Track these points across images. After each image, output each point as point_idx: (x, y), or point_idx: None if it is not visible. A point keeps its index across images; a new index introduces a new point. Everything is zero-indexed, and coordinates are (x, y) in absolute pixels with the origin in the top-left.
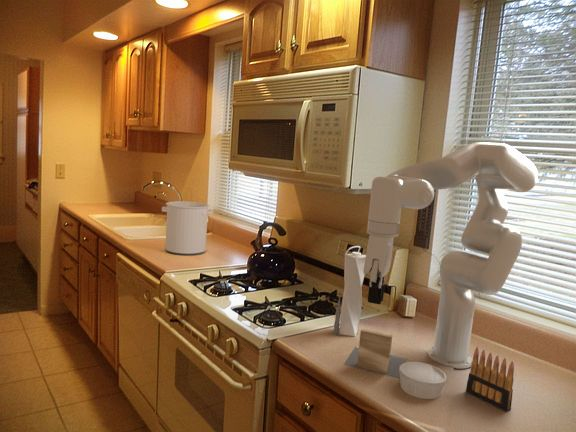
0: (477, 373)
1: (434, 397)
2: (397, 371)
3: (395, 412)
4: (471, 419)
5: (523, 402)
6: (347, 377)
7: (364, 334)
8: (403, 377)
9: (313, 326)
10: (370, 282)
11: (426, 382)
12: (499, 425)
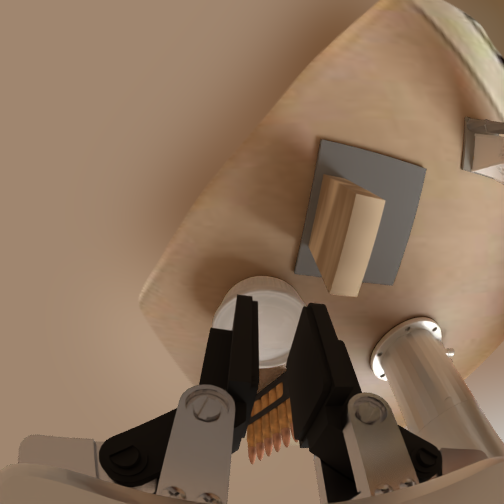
0: (281, 408)
1: None
2: None
3: (157, 264)
4: (199, 367)
5: None
6: (264, 154)
7: (349, 206)
8: (232, 294)
9: (489, 79)
10: (175, 429)
11: None
12: None
